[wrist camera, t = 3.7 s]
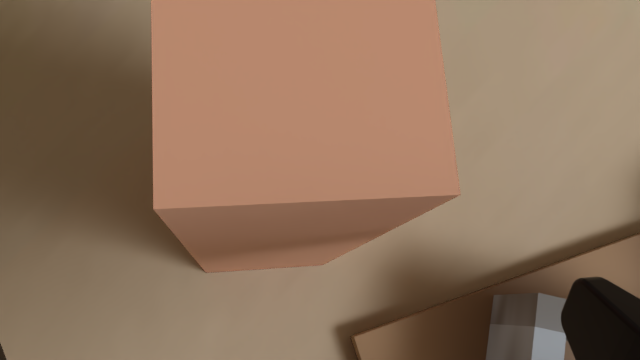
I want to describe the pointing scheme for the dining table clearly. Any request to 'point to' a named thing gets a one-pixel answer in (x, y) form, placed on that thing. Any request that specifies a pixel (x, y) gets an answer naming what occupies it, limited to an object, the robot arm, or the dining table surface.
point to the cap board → (472, 308)
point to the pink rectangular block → (296, 126)
